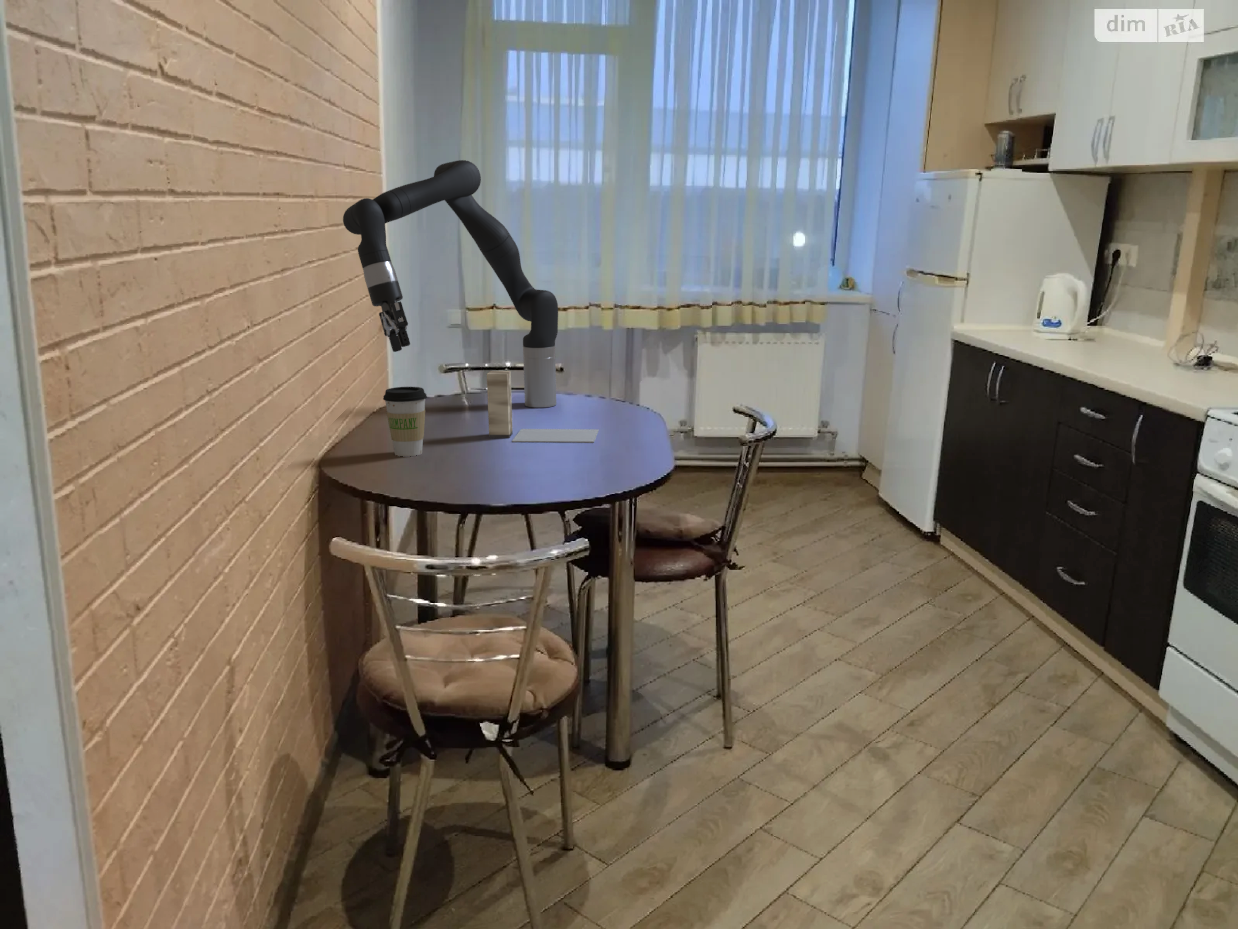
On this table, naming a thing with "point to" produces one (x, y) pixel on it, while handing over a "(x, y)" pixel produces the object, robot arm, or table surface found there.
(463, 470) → the table surface
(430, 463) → the table surface
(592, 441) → the grey mat
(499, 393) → the birch block
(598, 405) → the table surface
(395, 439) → the coffee cup
